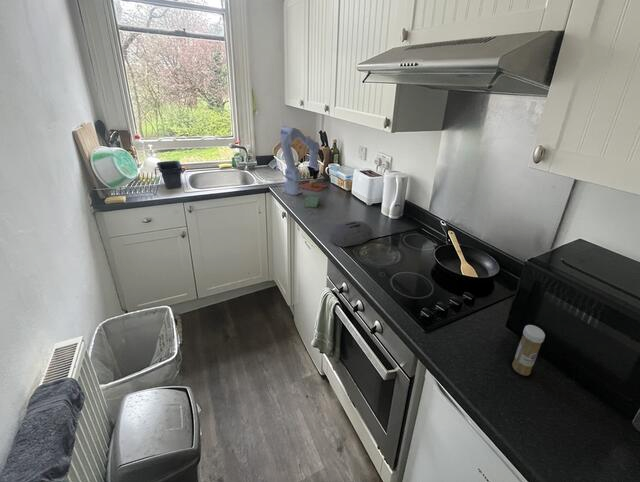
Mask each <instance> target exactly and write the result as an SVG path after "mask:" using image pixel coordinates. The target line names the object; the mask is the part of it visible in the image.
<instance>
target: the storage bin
mask: <svg viewBox="0 0 640 482" xmlns="http://www.w3.org/2000/svg"><path fill="white" fill-rule="evenodd" d="M182 170H183V165H182V163H180V161H179V160H166V161H159V162H156V167H154V174H155V175H157V171H159V173H160V174H161V176H162V181H163V184H164V185H165V188H166V189H167V190H172V189H180V188H182V178H181V177H182V176H181V171H182Z"/></svg>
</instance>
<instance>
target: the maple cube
mask: <svg viewBox="0 0 640 482" xmlns="http://www.w3.org/2000/svg"><path fill="white" fill-rule="evenodd" d="M309 182H310V186H311V187H317V184H318V182H317V179H311V180H309Z"/></svg>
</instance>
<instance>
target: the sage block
mask: <svg viewBox="0 0 640 482" xmlns="http://www.w3.org/2000/svg"><path fill="white" fill-rule="evenodd" d="M318 205H319V196H311V195H309V196H306V198H305V199H304V207H306V208H307V207H309V208H317V207H318Z"/></svg>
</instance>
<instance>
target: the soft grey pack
mask: <svg viewBox="0 0 640 482" xmlns="http://www.w3.org/2000/svg"><path fill="white" fill-rule="evenodd" d="M330 238H331V241H332V243H333V244H334V245H337V246H338V247H342V248H345V247H355V246H358V245H362V244H364V243H367V242H368V241H370V240H371V239H372V238H373V229H372V228H371V226H370V225H368V224H367V223H365V222H363V221H361V220H360V221H357V220H356V221H348V222H347V221H346V222H342V223H340V224H337V225H336V226H334V227H333V228H332V230H331V232H330Z"/></svg>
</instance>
